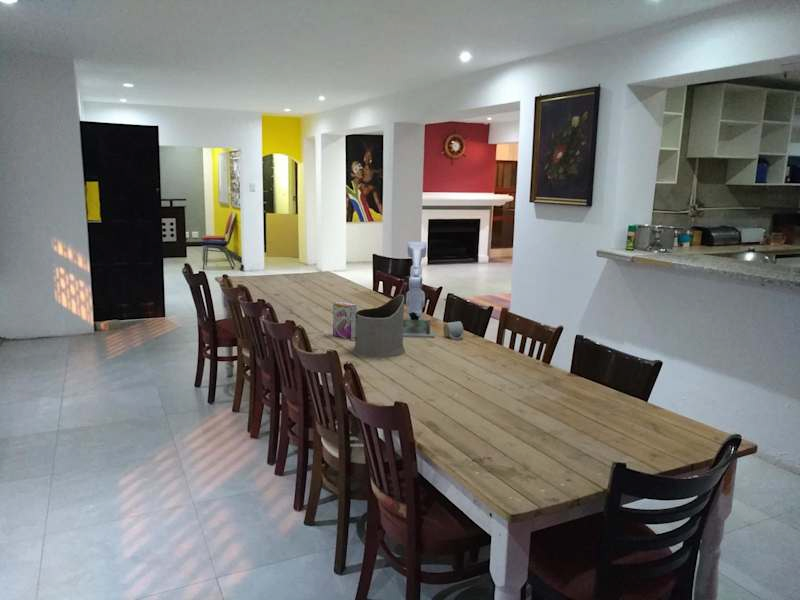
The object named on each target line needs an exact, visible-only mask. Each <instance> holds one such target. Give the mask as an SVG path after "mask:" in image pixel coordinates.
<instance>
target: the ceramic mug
mask: <svg viewBox="0 0 800 600" xmlns="http://www.w3.org/2000/svg"><path fill="white" fill-rule="evenodd" d="M443 335H444V336H445V338H451V339H452V340H453V341H454V340H455V341H460V340H461V339H462V338H463V335H464V326H463V323H462V321H452V322H446V323H445V324H444V325H443Z"/></svg>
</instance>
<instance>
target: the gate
mask: <svg viewBox="0 0 800 600" xmlns="http://www.w3.org/2000/svg"><path fill="white" fill-rule="evenodd" d="M427 322H430V323H431V319H422V320H408V319H403V332H427Z"/></svg>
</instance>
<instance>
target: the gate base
mask: <svg viewBox="0 0 800 600" xmlns="http://www.w3.org/2000/svg"><path fill="white" fill-rule="evenodd" d="M418 337H426V338H427V337H429V338H427V339H430V338H431V339H435V332H434V331H431V321H430V322H427V332H403V338H418ZM426 338H425V339H426Z"/></svg>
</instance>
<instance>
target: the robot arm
mask: <svg viewBox="0 0 800 600" xmlns="http://www.w3.org/2000/svg"><path fill="white" fill-rule="evenodd" d="M427 246H428V245H427V242H426V241H407V255H408V257H409V258H411V261H412V265H411V266H410V270H409V271H410V272H409V274H410V275H409V279H408V291H407V292H406V302H405V303H406V304H405V305H406V307H408V308H406V311H407V312H408V315H407V316H408V317H407V318H408V319H407V320H423V308H424V307H425V304H426V302H425V301H426V294H425V291H423V290H422V288H423V275H422V273H423V267H422V266H421V265H422V264H421V263H422V259H424V258H426V255H427Z"/></svg>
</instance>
